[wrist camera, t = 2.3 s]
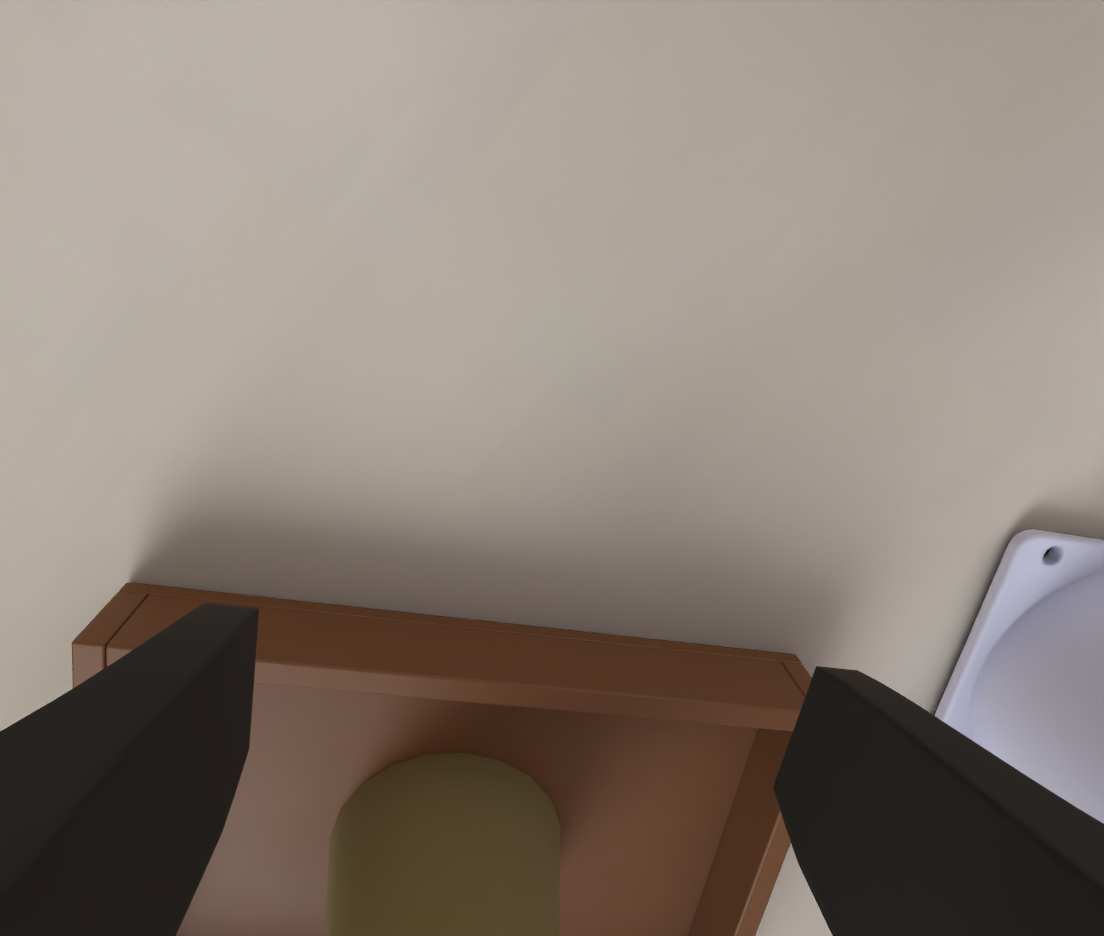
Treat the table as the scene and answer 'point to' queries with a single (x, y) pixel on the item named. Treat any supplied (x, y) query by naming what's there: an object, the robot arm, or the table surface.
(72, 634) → the table surface
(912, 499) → the table surface
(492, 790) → the olive rounded cylinder
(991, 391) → the table surface
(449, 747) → the tray
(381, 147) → the table surface
